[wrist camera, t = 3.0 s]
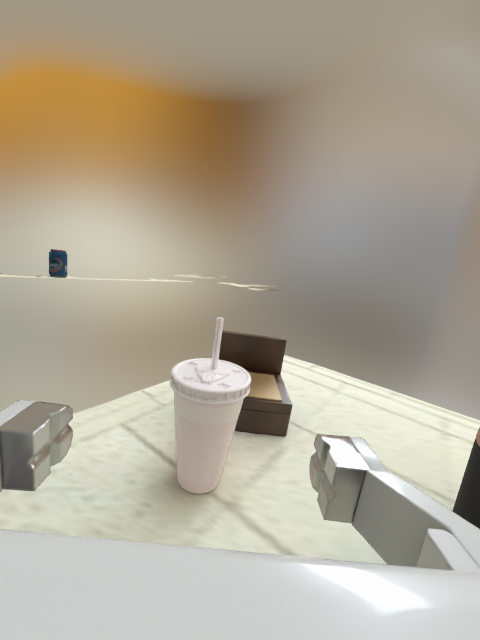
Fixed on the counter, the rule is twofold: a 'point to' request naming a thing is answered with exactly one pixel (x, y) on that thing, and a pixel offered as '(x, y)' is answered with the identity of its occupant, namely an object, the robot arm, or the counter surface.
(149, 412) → the counter surface
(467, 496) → the travel mug
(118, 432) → the counter surface
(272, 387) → the wooden chair
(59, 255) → the soda can
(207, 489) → the smoothie
